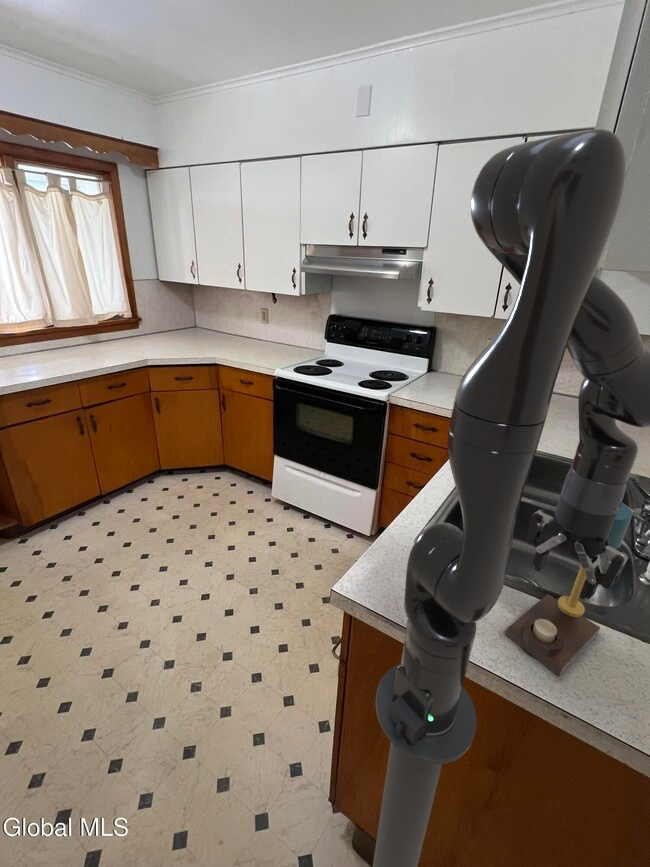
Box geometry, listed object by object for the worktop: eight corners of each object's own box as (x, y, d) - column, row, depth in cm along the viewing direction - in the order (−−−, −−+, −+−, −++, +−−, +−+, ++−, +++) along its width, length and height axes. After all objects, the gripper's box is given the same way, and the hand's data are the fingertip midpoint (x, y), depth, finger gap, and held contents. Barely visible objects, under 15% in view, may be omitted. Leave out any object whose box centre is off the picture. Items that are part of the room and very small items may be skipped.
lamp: (580, 629, 76) (621, 525, 66) (542, 604, 81) (575, 503, 71) (598, 611, 80) (640, 510, 70) (561, 588, 85) (595, 490, 75)
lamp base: (556, 679, 71) (562, 663, 70) (503, 637, 79) (507, 622, 77) (596, 635, 79) (603, 620, 78) (545, 601, 87) (550, 586, 85)
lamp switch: (547, 646, 73) (550, 639, 72) (528, 632, 76) (530, 625, 75) (558, 636, 75) (561, 629, 74) (539, 622, 78) (541, 615, 77)
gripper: (530, 484, 66) (508, 566, 73) (633, 532, 56) (596, 622, 63) (555, 470, 70) (532, 549, 77) (655, 513, 60) (618, 600, 67)
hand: (561, 582), depth 70 cm, fingers open, 7 cm apart
